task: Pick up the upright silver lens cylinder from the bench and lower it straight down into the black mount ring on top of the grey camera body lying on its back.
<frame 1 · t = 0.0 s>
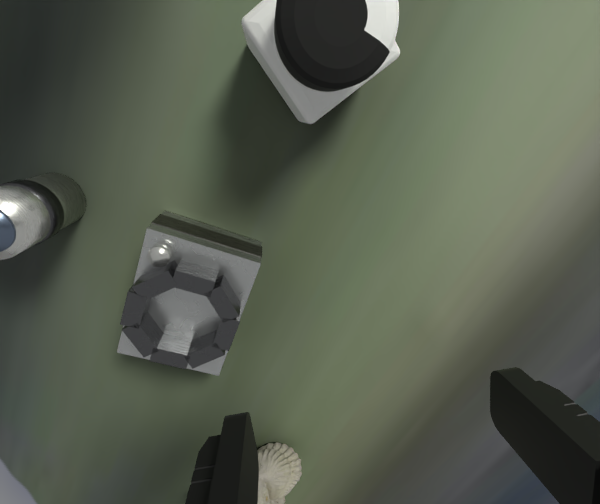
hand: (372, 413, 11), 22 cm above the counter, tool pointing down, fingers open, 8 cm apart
camera body: (197, 282, 33), on the counter
fossil replica: (253, 456, 43), on the counter
medicine bottle: (309, 56, 27), on the counter
lens: (58, 198, 29), on the counter
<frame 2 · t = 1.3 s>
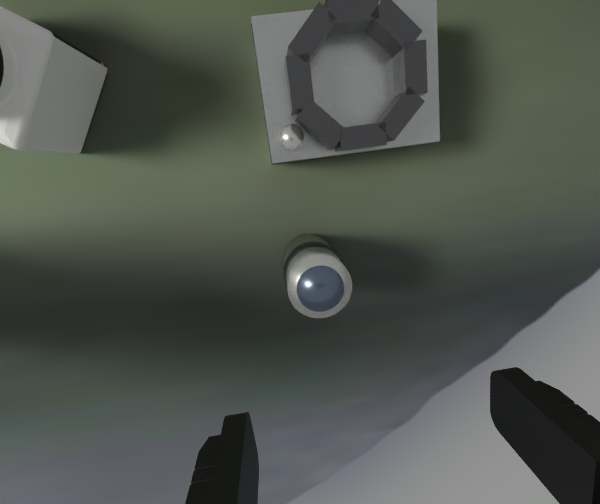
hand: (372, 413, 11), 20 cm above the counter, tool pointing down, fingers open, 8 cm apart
camera body: (337, 97, 28), on the counter
medicine bottle: (50, 91, 26), on the counter
lens: (308, 257, 31), on the counter
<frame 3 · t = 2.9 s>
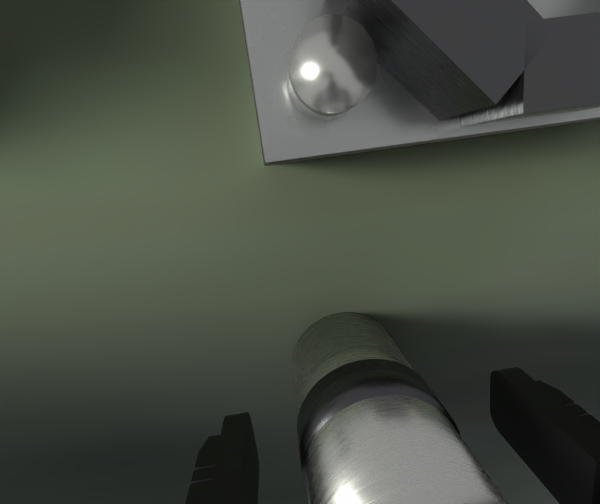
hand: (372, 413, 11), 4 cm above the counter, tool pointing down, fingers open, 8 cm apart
camera body: (421, 5, 12), on the counter
lens: (343, 359, 15), on the counter
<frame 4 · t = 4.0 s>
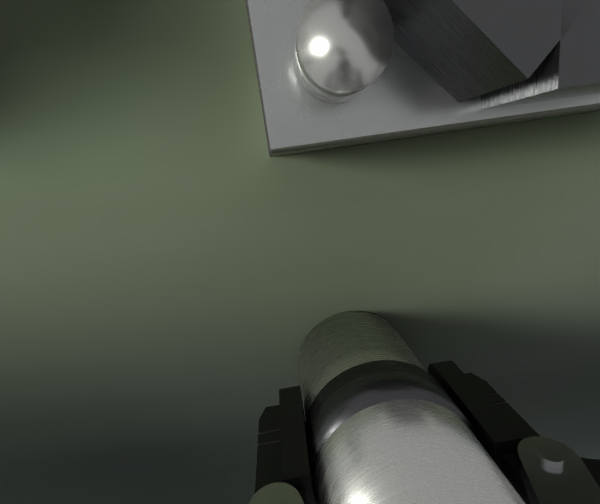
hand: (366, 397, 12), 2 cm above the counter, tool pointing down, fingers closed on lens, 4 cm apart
lens: (351, 360, 14), on the counter, touching gripper
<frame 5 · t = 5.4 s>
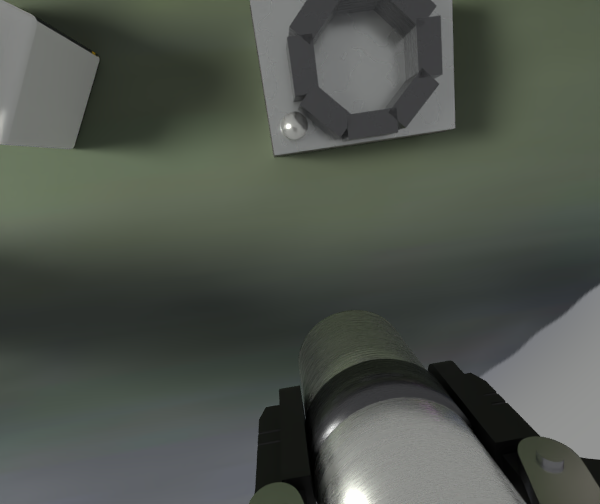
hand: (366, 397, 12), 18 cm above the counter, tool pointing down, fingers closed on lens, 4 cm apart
camera body: (343, 84, 26), on the counter
medicine bottle: (40, 83, 25), on the counter
lens: (351, 359, 14), point 16 cm above the counter, touching gripper
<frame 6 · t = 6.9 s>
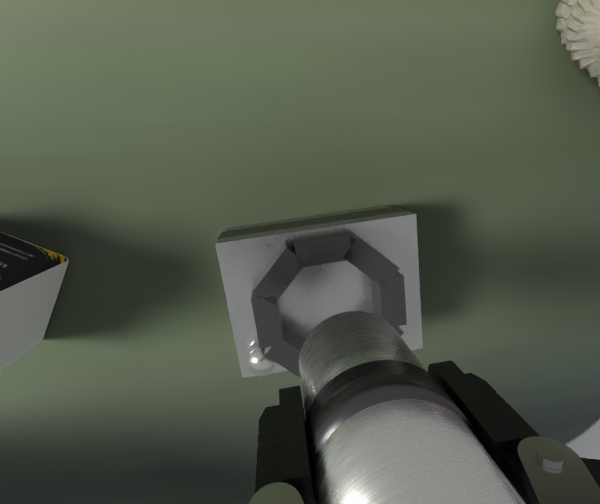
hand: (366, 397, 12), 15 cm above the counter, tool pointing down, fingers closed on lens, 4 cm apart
camera body: (315, 274, 26), on the counter
medicine bottle: (9, 280, 24), on the counter
lens: (351, 360, 14), point 12 cm above the counter, touching gripper
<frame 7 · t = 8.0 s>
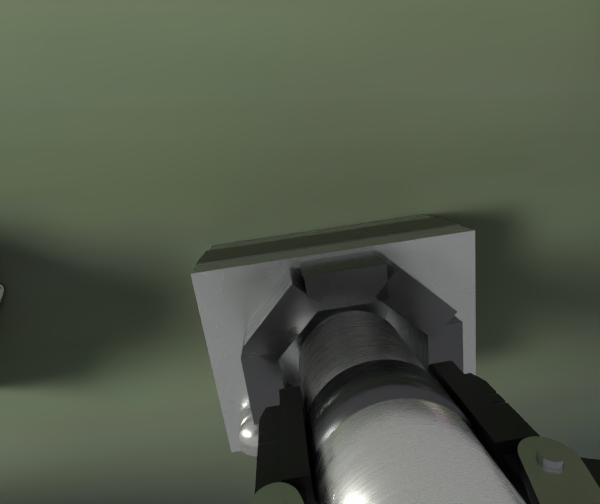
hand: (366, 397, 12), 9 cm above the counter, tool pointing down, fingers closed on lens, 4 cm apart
camera body: (328, 304, 20), on the counter
lens: (351, 359, 14), point 6 cm above the counter, touching gripper
when the fingers open (8 cm above the counter, at t = 8.4 s): lens stays where it is, resting on camera body.
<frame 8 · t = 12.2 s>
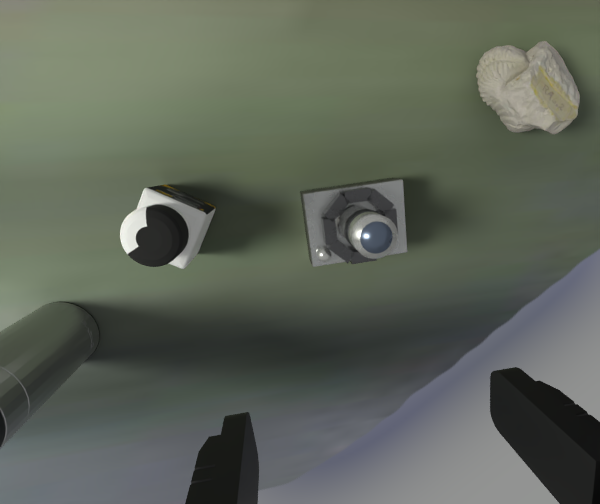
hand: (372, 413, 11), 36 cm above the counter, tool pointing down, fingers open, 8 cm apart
camera body: (348, 218, 46), on the counter
fossil replica: (504, 94, 44), on the counter
medicine bottle: (181, 219, 45), on the counter
lens: (356, 224, 41), point 5 cm above the counter, touching camera body
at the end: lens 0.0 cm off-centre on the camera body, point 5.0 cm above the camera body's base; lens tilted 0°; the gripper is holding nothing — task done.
